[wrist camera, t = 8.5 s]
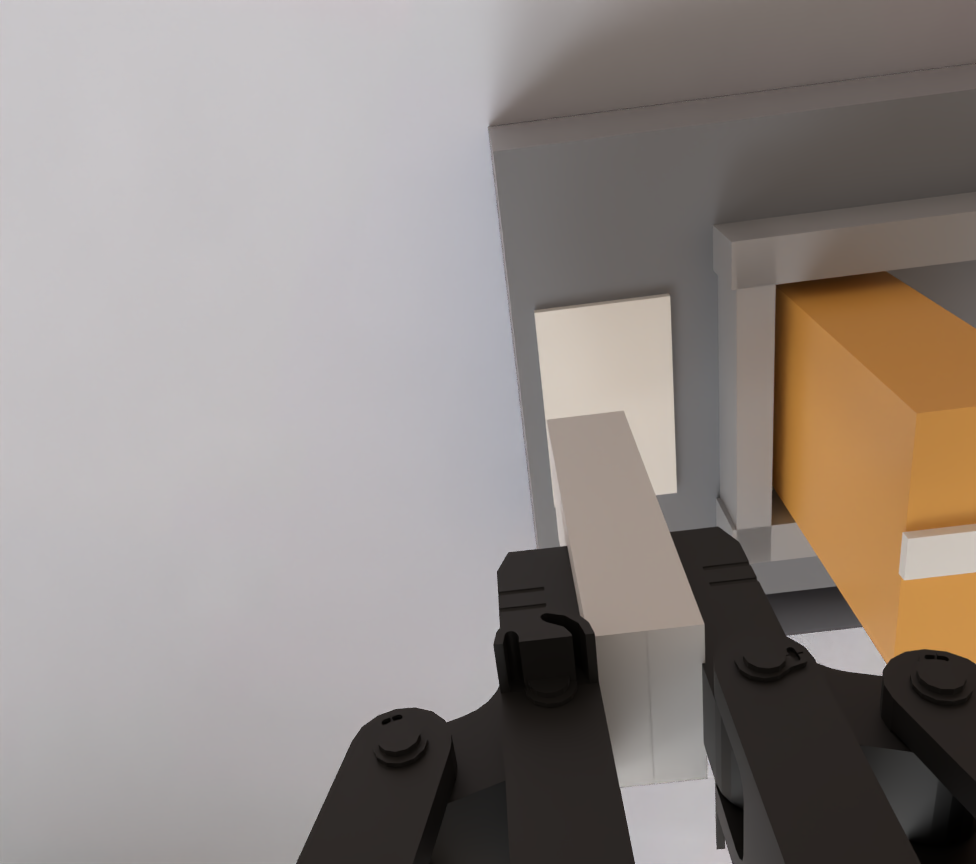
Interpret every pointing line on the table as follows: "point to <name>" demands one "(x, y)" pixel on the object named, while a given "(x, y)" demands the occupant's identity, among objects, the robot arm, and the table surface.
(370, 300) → the table surface
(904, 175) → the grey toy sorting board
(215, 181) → the table surface
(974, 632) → the breaker lever
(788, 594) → the grey ledge with rod
